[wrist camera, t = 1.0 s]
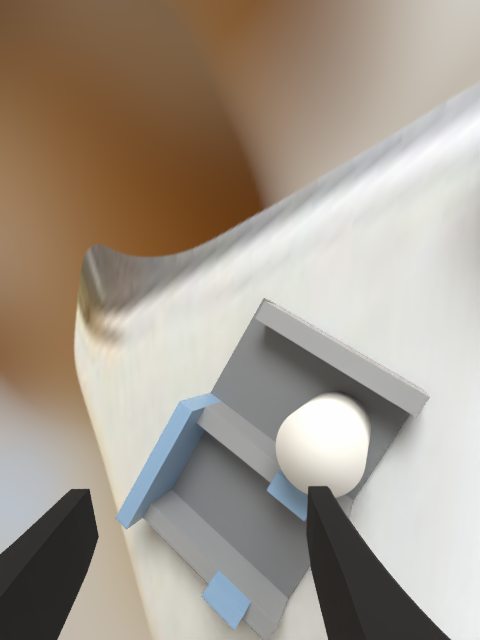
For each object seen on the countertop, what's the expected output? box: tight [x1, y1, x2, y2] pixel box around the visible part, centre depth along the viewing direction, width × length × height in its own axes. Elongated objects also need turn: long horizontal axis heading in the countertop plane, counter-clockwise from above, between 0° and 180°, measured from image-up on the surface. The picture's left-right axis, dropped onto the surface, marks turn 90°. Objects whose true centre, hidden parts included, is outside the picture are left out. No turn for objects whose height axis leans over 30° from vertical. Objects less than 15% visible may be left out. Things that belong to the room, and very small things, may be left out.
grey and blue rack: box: [116, 298, 430, 640], centre depth 21 cm, size 11×16×5 cm
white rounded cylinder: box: [276, 391, 371, 498], centre depth 18 cm, size 4×4×6 cm
